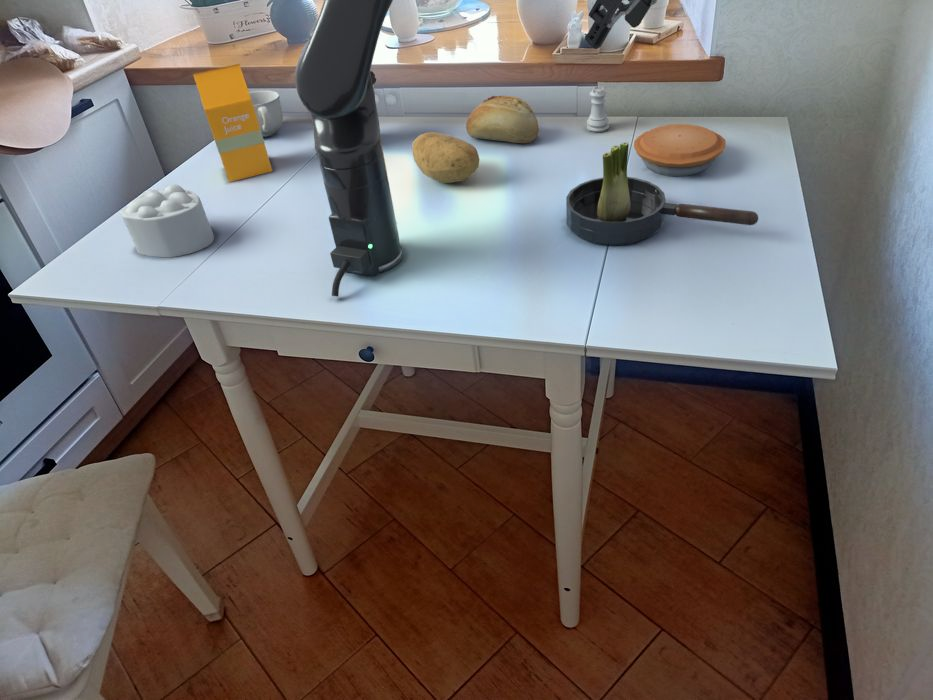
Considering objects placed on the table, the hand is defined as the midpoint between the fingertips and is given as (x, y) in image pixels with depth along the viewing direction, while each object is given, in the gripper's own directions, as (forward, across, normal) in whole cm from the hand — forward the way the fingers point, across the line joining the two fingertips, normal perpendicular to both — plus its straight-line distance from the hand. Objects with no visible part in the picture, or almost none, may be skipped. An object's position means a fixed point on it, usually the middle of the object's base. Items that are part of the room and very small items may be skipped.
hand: (611, 33), depth 95 cm
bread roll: (+45, -15, -14) cm, 50 cm away
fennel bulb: (+23, 0, +16) cm, 28 cm away
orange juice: (+64, +23, -44) cm, 81 cm away
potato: (+42, +4, -11) cm, 44 cm away
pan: (+24, 0, +17) cm, 29 cm away
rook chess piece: (+38, -28, -3) cm, 48 cm away
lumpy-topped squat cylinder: (+54, +47, -32) cm, 78 cm away
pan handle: (+14, -5, +26) cm, 30 cm away
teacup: (+71, +11, -54) cm, 90 cm away
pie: (+26, -23, +15) cm, 38 cm away
